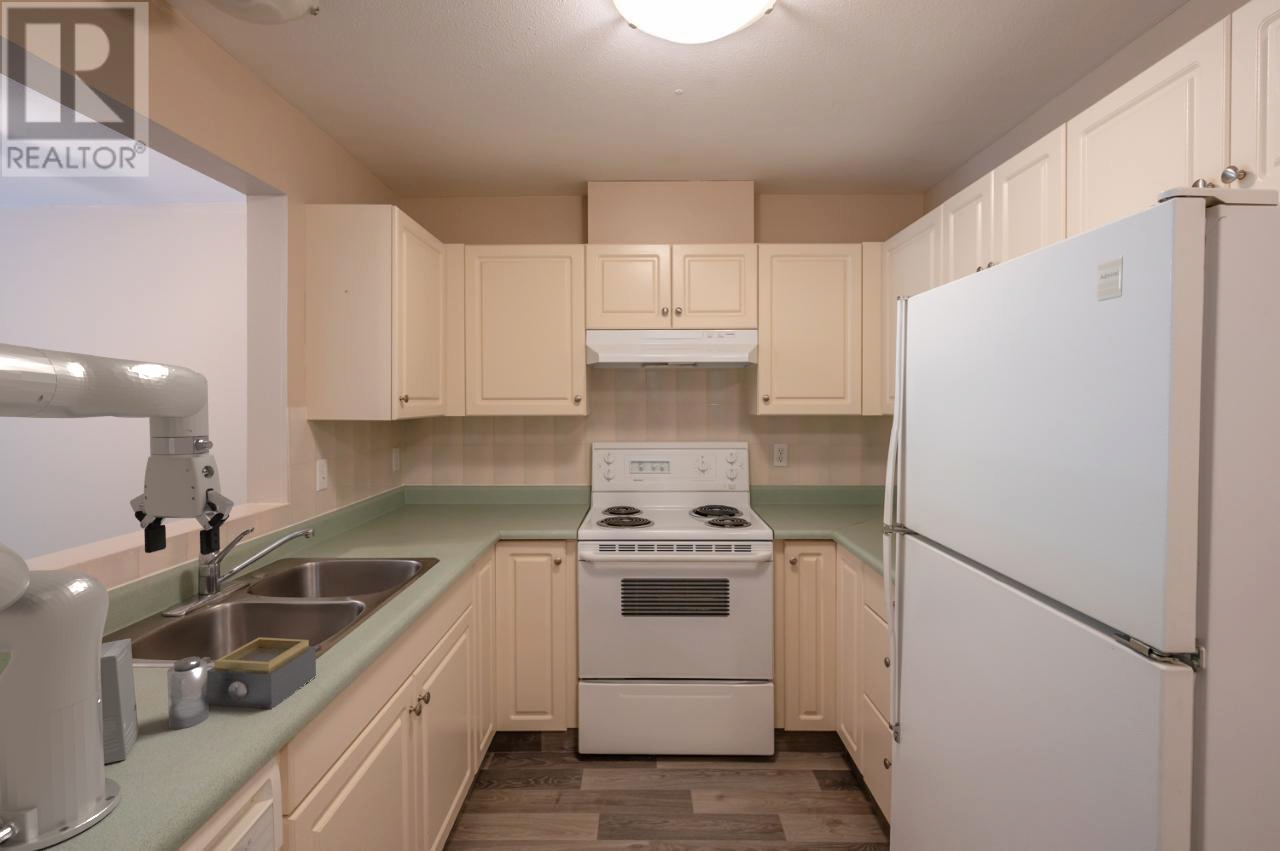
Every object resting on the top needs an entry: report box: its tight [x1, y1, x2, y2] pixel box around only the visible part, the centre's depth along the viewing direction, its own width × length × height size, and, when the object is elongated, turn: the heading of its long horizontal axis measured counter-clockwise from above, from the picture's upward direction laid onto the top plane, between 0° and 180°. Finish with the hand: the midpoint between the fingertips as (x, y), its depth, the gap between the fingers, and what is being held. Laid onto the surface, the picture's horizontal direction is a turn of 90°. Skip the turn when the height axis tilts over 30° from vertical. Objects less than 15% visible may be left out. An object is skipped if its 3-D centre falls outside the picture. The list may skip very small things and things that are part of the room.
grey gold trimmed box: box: [207, 636, 317, 710], centre depth 106 cm, size 12×12×8 cm
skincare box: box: [101, 637, 139, 765], centre depth 87 cm, size 8×7×16 cm
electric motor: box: [166, 656, 211, 730], centre depth 97 cm, size 6×5×10 cm
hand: (182, 551), depth 95 cm, fingers open, 9 cm apart
